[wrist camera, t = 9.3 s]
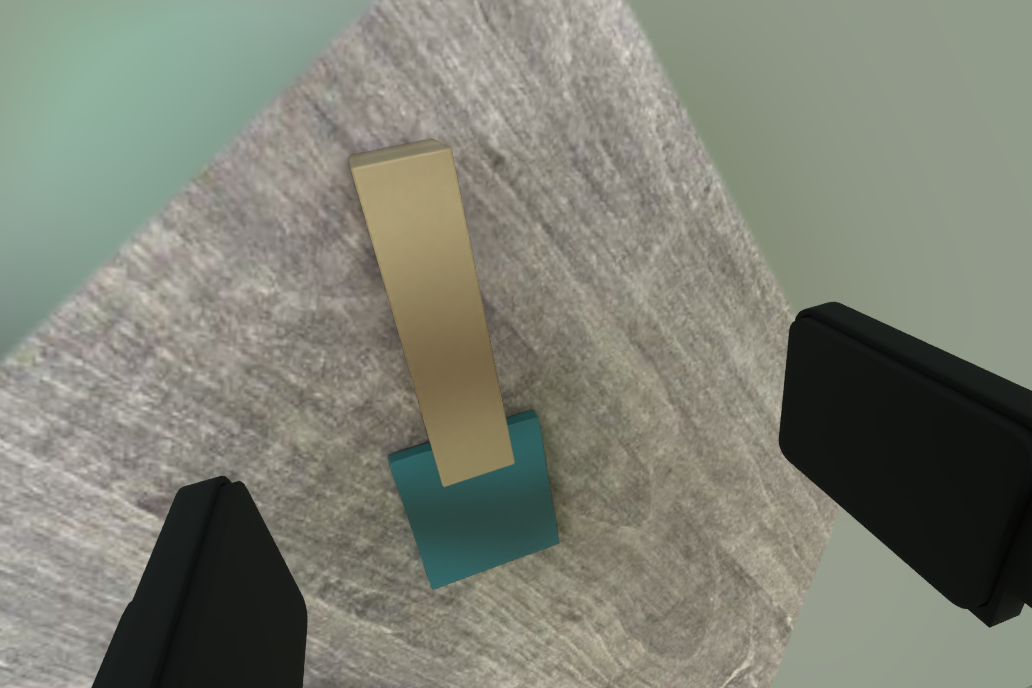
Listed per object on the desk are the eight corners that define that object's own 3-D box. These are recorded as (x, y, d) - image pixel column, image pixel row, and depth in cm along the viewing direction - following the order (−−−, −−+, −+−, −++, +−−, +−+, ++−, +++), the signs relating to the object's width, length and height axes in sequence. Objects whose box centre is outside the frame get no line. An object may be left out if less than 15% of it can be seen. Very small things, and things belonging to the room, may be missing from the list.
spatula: (289, 167, 13) (281, 182, 11) (486, 127, 14) (512, 134, 12) (430, 580, 20) (441, 636, 18) (555, 534, 21) (579, 583, 19)
